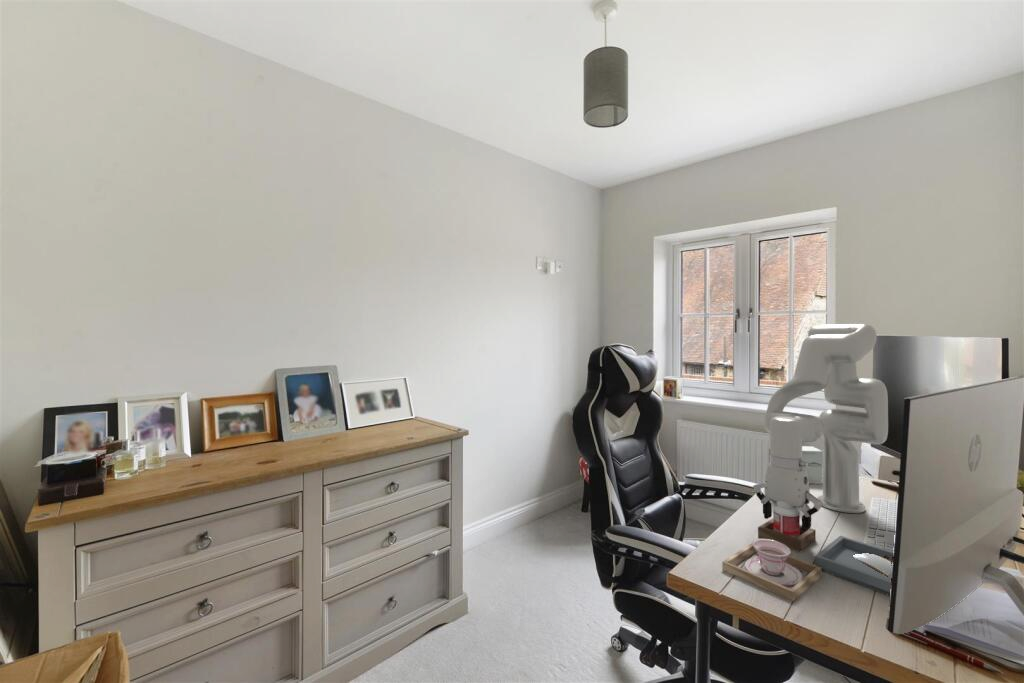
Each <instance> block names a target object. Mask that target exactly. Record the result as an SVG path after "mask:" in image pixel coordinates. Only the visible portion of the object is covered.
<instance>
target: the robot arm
mask: <svg viewBox="0 0 1024 683" xmlns="http://www.w3.org/2000/svg"><path fill="white" fill-rule="evenodd" d="M876 343H877V331H876V329H875V328H874V327H873V326H872V325H871V324H867V323H833V324H832V323H830V324H818V325H814V326H812V327H810V328H809V329H808V334H807V337H806V338H804V339H803V341H802V344H801V347H800V351H799V354H798V358H797V362H796V366H795V369H794V374H793V377H792V378H791V379H790V380H788V381H787V382H785V383H784V384H783V385H781V386H780V387H779V388H778V389H777V390H776V391H775V392H774V393H773V394H772V395H771V398H770V400H769V401H768V405H767V408H766V411H765V412H766V413H765V416H764V428H765V430H766V432H767V433H769V449H770V463H768V464H767V466H766V467H767V468H766V472H765V475H764V476H765V478H764V482H761V483H756V484H754V485H752V487H753V490H754V493H755V495H756V497H757V498H758V500H760V503H761V504H762V514H763V518H764V519H765V520H768V519H770V518H771V517H772V515H773V509H772V506H773V504H772V502H771V501H774V502H776V501H777V502H779V501H781V502H785V503H787V504H789V505H791V506H795V508H798V509H799V511H801V513H802V516H801V526H802V530H803V531H806V530H808V529H809V528H811V529H812V515H815V514H816V513H817V512H819V511H820V509H821V508H822V507H823V508H826V509H829V510H833V511H835V512H842V513H847V514H861V513H863V512H865V511H866V505H865V504H864V503H862V502H861V501H860V456H859V452H858V449H857V448H856V447H855V445H854V444H853V442H858V443H862V444H869V445H882V444H884V443H885V442H886V441H887V439H888V434H889V397H888V389H887V387H886V385H885V383H884V382H883V381H882V380H880V379H877V378H874V377H872V378H870V377H858V375H857V362H859V361H861V360H862V359H863V358H864V357H865V356H866V355H868V354H869V353H871V351H872V350H873V349H874V347H875V345H876ZM822 390H823V394H824V399H825V400H826V402H827V403H829V404H830V405H835V406H841V407H849V408H857V409H858V408H859V409H864V410H865V411H855V410H849V409H840V408H829V409H825V410H824V411H822V412H821V413H820V415H819V417H817V416H815V415H812V414H805V413H798V412H791V411H785V410H784V409H785V407H786V406H787V405H788V404H789V403H790V402H791V401H793V400H796V399H797V398H799V397H803V396H805V395H810V394H812V393H816V392H819V391H822ZM820 439H821V441H822V442H821V443H822V444H821V448H822V449H821V451H823V464H822V466H823V468H822V470H823V483H822V495H819V496H817V497H816V496H815V495H813V494H812V493H811V492H810V491H811V490H810V483H809V482H808V476H807V472H806V469H804V468H802V467H808V462H805V461H803V458H802V446H803V443H812V442H816V441H818V440H820ZM761 489H764V490H763V492H764V493H763V492H762V490H761ZM810 502H811V503H813V506H812V508H811V507H810V506H809V504H810Z"/></svg>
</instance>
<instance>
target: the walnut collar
mask: <svg viewBox="0 0 1024 683" xmlns="http://www.w3.org/2000/svg"><path fill="white" fill-rule="evenodd" d="M816 537H817V536H816V529H814V528H812V527H811V528H809V529H808V530H806V531H803V530H802V524H801V525H800V536H799V537H797V538H795V537H792V536H789V535H786V534H783V533H780V532H777V531H774V519H773V518H771V519H769V520H768V521H766V522H764V523H763V524H762V523H761V525H759V526H758V527H757V539H770V540H774V541H777V542H780V543H782V544H784V545H786V546H787V547H788V548H789V549H790V550H791V551H794V552H797V553H801V552H803V551H804V550H805V549H806V548H808V547H809V546H811V544H813V543H815V542H816V539H817V538H816Z"/></svg>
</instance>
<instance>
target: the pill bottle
mask: <svg viewBox="0 0 1024 683" xmlns="http://www.w3.org/2000/svg"><path fill="white" fill-rule="evenodd" d="M775 503H776V505H775V506H773V509H772V515H773V517H772V519H774V531H777V532H780V533H783V534H786V535H789V536H792V537H795V538H797V537H799V536H800V520H801V519H800V517H801V516H800V510H798V508H797V507H795V506H791V505H789V504H787V503H785V502H781V501H779V502H777V501H775Z"/></svg>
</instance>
